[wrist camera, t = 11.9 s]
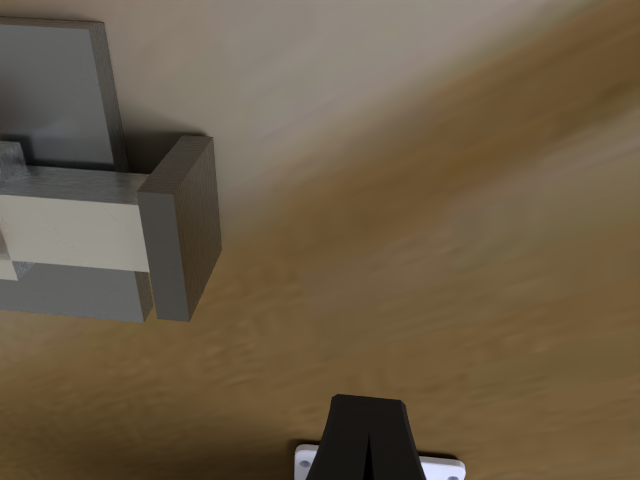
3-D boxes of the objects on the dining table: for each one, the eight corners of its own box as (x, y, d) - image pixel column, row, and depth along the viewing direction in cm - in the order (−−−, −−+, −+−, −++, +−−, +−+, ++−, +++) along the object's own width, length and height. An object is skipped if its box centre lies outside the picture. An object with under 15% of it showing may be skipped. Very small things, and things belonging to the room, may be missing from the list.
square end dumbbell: (221, 250, 20) (189, 321, 17) (38, 234, 20) (-29, 301, 17) (213, 137, 18) (173, 194, 14) (6, 122, 18) (-81, 175, 15)
